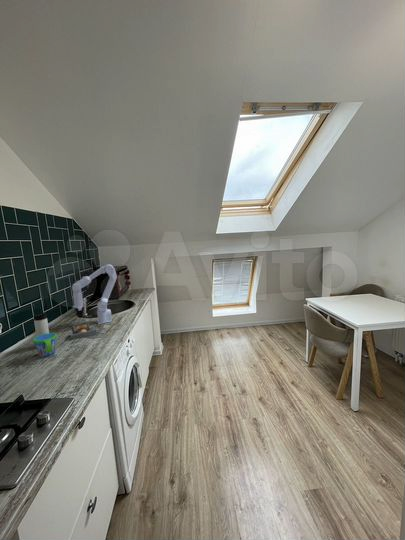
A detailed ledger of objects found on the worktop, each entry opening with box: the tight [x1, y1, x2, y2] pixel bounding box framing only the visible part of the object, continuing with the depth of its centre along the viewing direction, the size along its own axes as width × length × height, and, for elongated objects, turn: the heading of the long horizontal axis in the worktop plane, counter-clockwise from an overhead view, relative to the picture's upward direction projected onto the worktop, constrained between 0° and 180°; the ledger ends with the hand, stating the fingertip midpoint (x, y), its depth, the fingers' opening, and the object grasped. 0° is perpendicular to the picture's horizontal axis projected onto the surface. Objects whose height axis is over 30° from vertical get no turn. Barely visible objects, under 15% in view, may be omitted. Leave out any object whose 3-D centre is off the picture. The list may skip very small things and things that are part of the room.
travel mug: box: [33, 312, 50, 337], centre depth 134 cm, size 6×7×20 cm
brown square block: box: [76, 323, 89, 333], centre depth 155 cm, size 6×6×3 cm
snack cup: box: [32, 332, 58, 358], centre depth 124 cm, size 16×10×10 cm
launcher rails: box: [72, 322, 92, 334], centre depth 160 cm, size 10×13×1 cm
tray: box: [69, 325, 97, 341], centre depth 149 cm, size 14×9×3 cm, turn 122°
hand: (80, 317), depth 165 cm, fingers closed
